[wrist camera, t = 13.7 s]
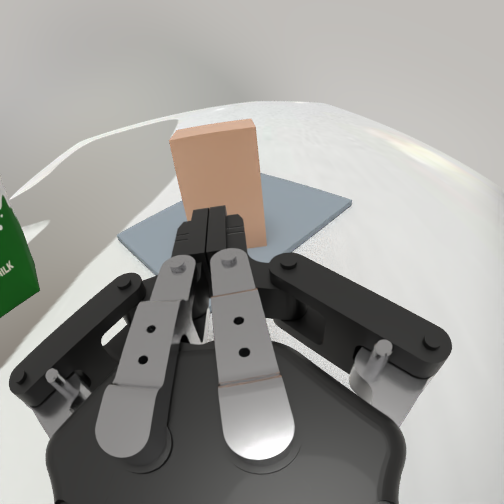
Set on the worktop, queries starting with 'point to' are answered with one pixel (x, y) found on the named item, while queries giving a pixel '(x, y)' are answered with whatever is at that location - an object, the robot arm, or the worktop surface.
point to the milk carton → (14, 259)
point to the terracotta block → (222, 173)
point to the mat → (275, 213)
